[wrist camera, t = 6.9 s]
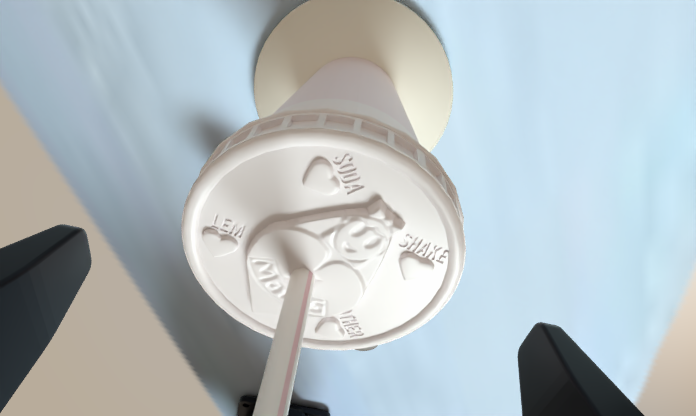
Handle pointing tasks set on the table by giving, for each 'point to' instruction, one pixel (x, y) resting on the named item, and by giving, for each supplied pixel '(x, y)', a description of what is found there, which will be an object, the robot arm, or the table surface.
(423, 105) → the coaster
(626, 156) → the table surface
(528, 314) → the table surface
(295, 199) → the smoothie
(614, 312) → the table surface
